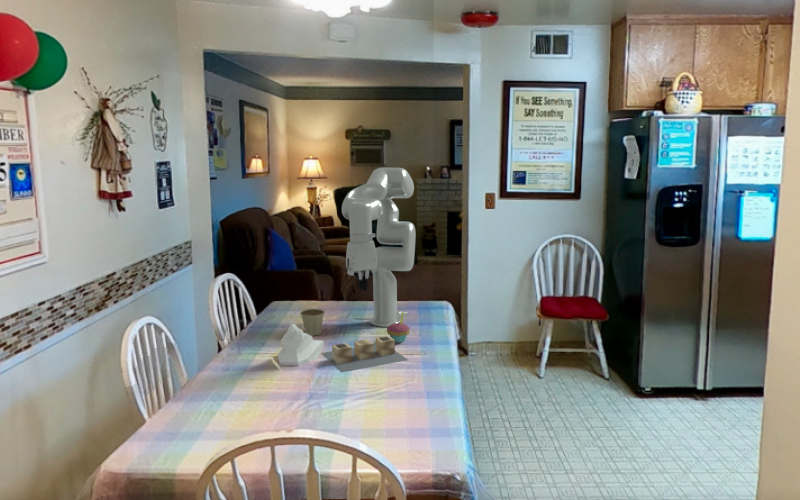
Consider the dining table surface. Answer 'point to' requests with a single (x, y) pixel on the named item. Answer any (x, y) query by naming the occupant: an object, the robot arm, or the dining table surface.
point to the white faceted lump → (298, 347)
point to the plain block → (363, 349)
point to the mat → (365, 361)
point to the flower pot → (312, 321)
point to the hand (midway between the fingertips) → (362, 289)
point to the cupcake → (398, 331)
